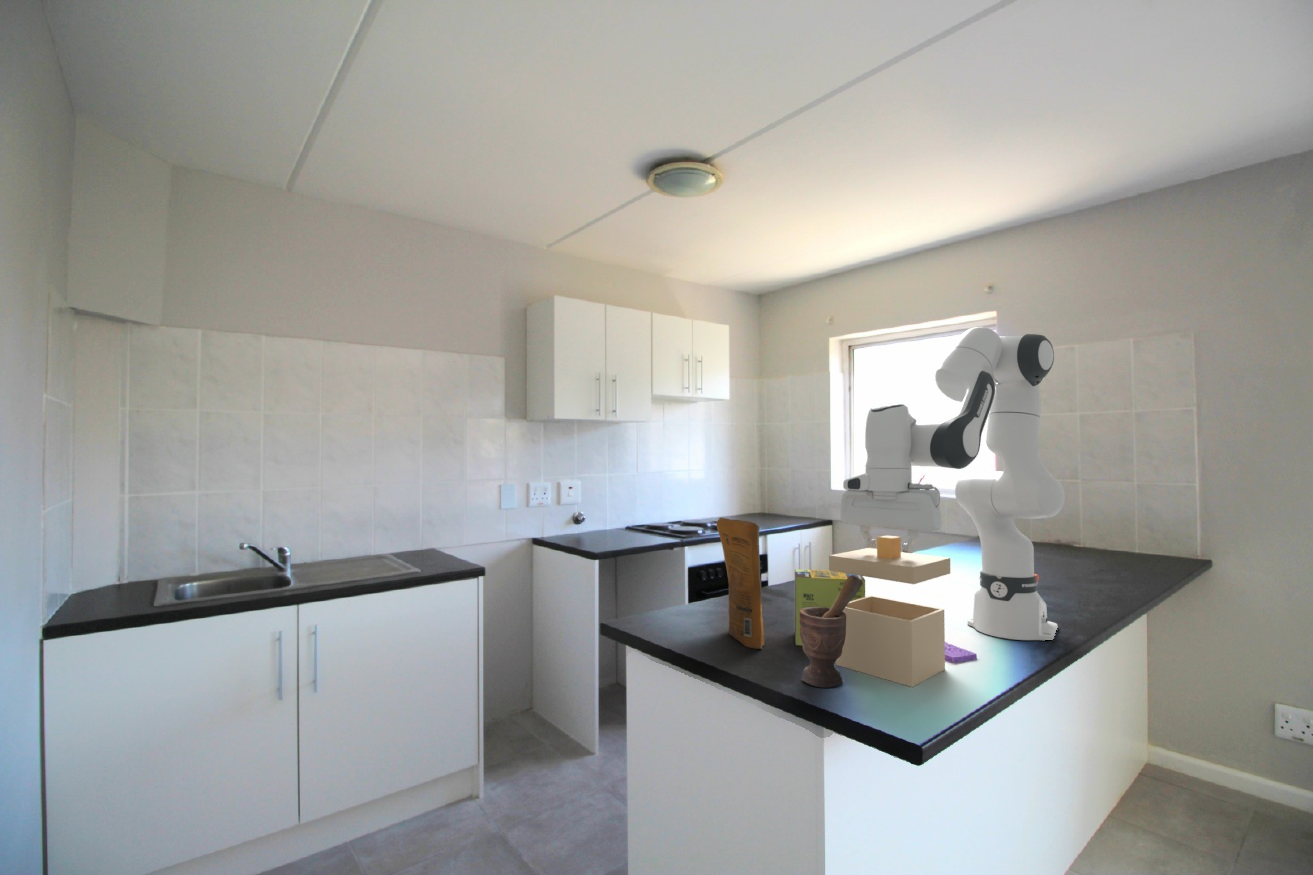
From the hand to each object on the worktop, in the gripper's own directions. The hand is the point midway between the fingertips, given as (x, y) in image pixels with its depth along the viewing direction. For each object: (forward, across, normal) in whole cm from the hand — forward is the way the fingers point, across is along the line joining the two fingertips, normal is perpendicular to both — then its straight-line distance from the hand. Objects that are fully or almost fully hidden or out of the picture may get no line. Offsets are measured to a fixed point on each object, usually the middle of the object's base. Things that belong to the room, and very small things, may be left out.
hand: (888, 550), depth 125 cm
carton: (+24, 0, 0) cm, 24 cm away
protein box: (+24, +18, -6) cm, 30 cm away
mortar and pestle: (+24, +4, +16) cm, 29 cm away
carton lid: (+4, 0, 0) cm, 4 cm away
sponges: (+24, -3, -18) cm, 30 cm away
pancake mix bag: (+24, +32, +8) cm, 41 cm away
